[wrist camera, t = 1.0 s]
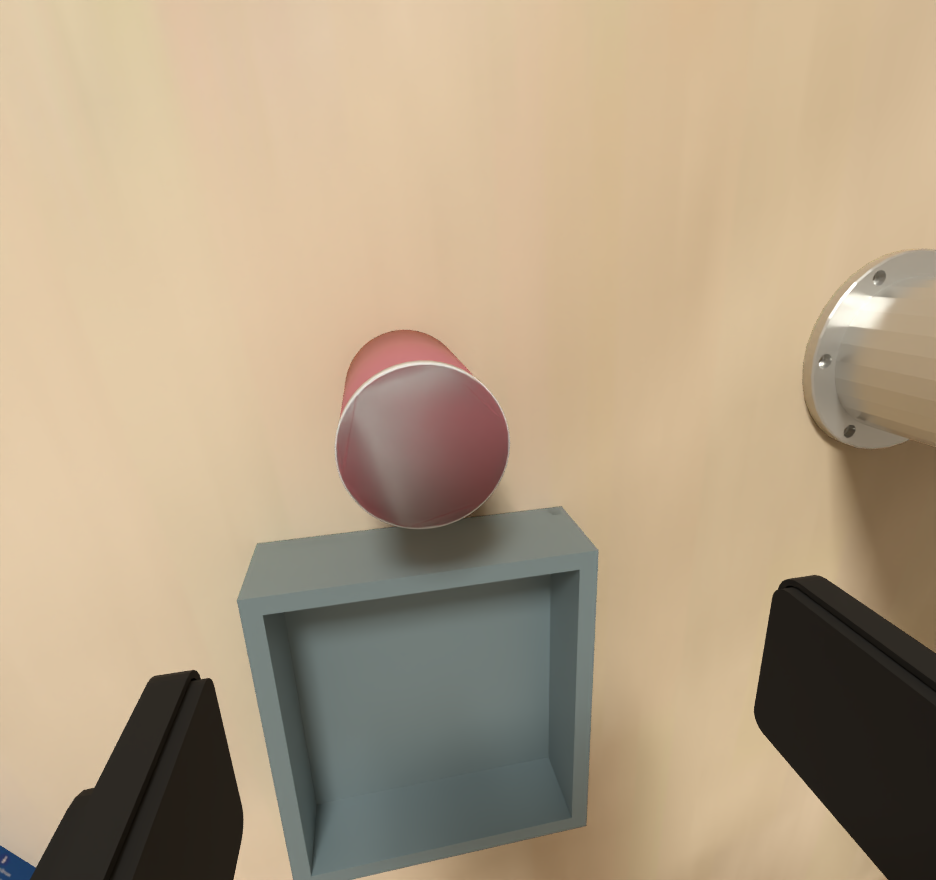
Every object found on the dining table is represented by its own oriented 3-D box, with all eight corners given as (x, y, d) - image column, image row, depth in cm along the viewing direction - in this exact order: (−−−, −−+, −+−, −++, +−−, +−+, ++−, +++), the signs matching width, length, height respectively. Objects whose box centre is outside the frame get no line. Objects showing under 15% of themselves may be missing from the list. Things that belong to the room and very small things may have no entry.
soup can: (462, 325, 29) (509, 358, 20) (466, 441, 31) (510, 520, 22) (338, 332, 28) (325, 368, 19) (350, 451, 30) (344, 537, 21)
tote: (561, 506, 34) (598, 550, 28) (556, 753, 40) (586, 825, 35) (257, 543, 31) (236, 600, 25) (304, 804, 37) (295, 892, 32)
